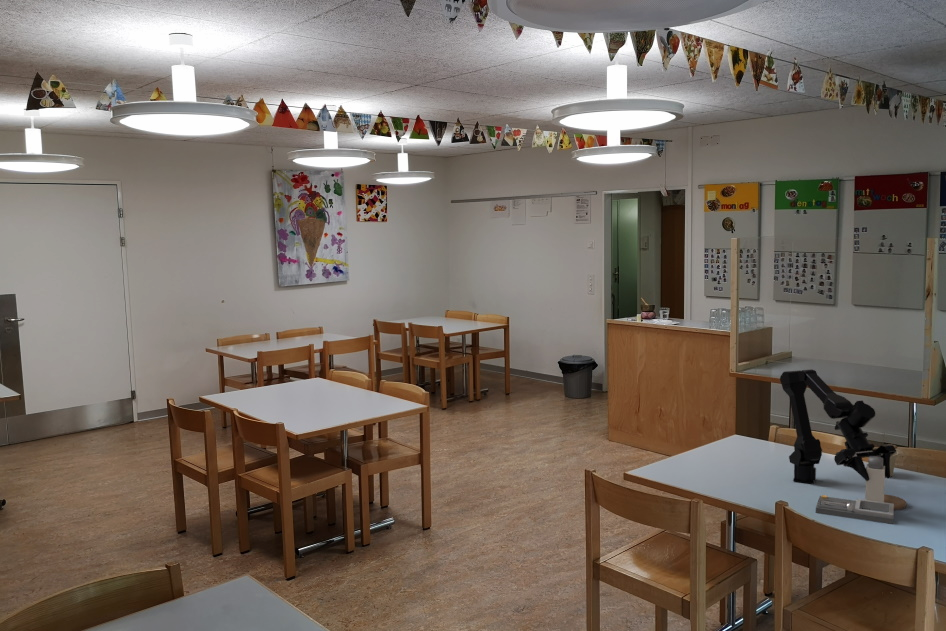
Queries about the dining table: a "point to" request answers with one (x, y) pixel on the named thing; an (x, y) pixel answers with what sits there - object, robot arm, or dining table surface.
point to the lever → (837, 504)
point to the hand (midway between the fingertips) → (878, 479)
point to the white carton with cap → (875, 479)
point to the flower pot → (891, 462)
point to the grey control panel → (858, 509)
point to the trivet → (895, 501)
